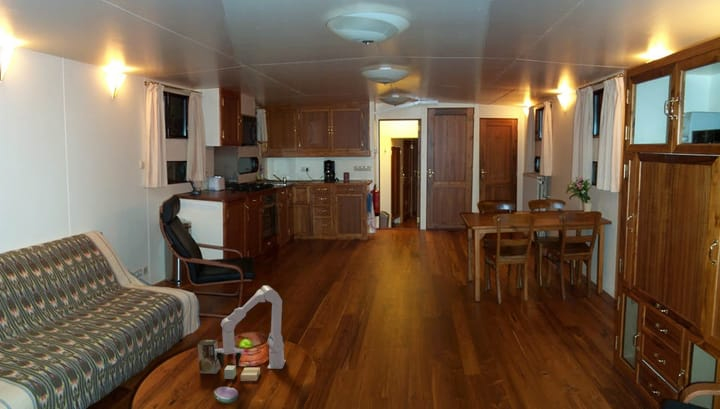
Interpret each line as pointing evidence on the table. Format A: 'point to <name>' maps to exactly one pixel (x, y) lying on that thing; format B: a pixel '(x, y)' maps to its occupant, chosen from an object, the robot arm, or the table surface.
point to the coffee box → (208, 356)
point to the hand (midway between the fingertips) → (229, 366)
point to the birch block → (250, 374)
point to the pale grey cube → (230, 372)
